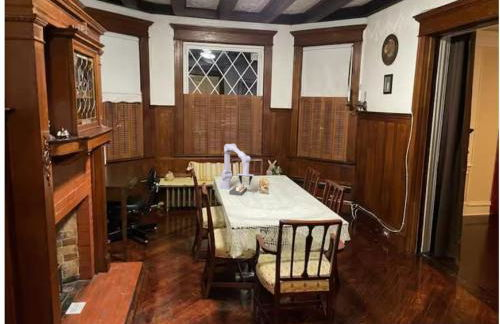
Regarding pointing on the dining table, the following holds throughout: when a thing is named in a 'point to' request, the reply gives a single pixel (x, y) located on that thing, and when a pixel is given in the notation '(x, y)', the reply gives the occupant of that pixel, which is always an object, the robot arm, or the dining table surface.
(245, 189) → the switch bank
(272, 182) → the dining table surface
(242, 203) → the dining table surface
